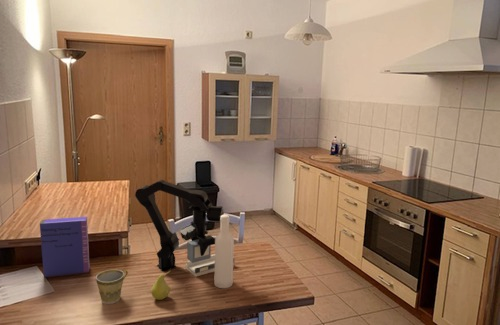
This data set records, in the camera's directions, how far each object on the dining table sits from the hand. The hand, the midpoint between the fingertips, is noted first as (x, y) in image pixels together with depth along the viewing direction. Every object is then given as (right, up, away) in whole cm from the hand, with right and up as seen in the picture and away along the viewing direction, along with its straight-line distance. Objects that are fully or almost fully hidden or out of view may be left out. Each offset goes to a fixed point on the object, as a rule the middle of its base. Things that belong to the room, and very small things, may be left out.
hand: (199, 253), depth 166 cm
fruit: (-12, -12, -21) cm, 27 cm away
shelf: (+4, -7, +6) cm, 10 cm away
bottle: (+11, -11, -9) cm, 18 cm away
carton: (0, -2, +1) cm, 2 cm away
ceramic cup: (-30, -12, -22) cm, 39 cm away
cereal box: (-57, -7, -4) cm, 57 cm away
